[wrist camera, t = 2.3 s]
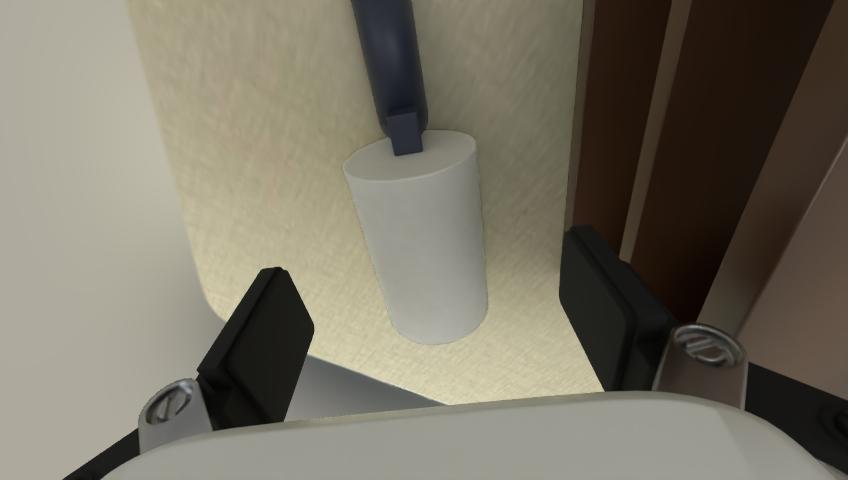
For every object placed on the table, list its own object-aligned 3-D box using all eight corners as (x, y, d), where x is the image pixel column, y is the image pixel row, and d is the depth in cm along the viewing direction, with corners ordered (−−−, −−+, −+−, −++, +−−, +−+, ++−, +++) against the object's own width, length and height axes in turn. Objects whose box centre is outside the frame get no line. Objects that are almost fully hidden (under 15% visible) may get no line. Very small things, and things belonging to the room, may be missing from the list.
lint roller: (477, 265, 21) (500, 335, 16) (390, 280, 21) (388, 353, 17) (445, -75, 12) (476, -133, 8) (296, -45, 12) (236, -83, 8)
